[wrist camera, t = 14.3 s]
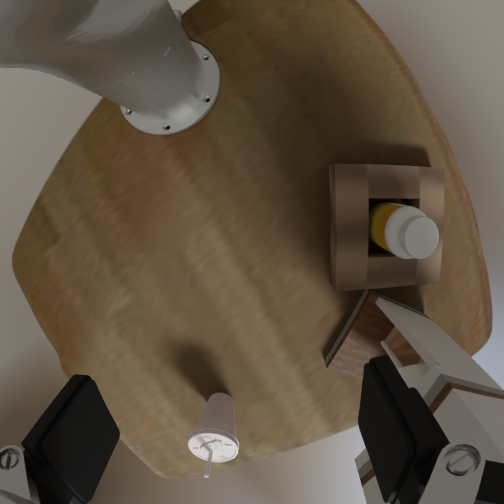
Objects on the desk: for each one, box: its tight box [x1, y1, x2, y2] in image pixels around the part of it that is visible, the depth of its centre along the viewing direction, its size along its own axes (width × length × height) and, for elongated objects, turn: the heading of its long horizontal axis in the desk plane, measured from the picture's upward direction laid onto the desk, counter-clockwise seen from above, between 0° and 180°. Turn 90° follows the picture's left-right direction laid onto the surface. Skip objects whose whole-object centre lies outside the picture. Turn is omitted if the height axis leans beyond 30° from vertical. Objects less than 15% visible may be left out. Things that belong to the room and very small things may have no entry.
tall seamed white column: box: [324, 289, 504, 504], centre depth 21 cm, size 11×11×35 cm
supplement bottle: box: [368, 202, 439, 259], centre depth 29 cm, size 5×5×10 cm
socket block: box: [328, 164, 444, 292], centre depth 33 cm, size 14×14×3 cm
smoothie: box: [188, 393, 239, 478], centre depth 34 cm, size 6×6×14 cm
